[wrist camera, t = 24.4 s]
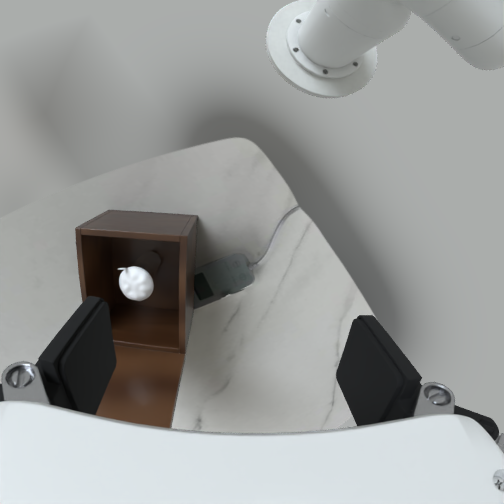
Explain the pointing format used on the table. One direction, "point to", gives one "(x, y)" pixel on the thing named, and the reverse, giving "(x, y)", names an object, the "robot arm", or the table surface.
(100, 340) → the robot arm
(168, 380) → the lid
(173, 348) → the chest
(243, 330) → the table surface
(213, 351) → the table surface
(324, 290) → the table surface
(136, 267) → the milkshake
